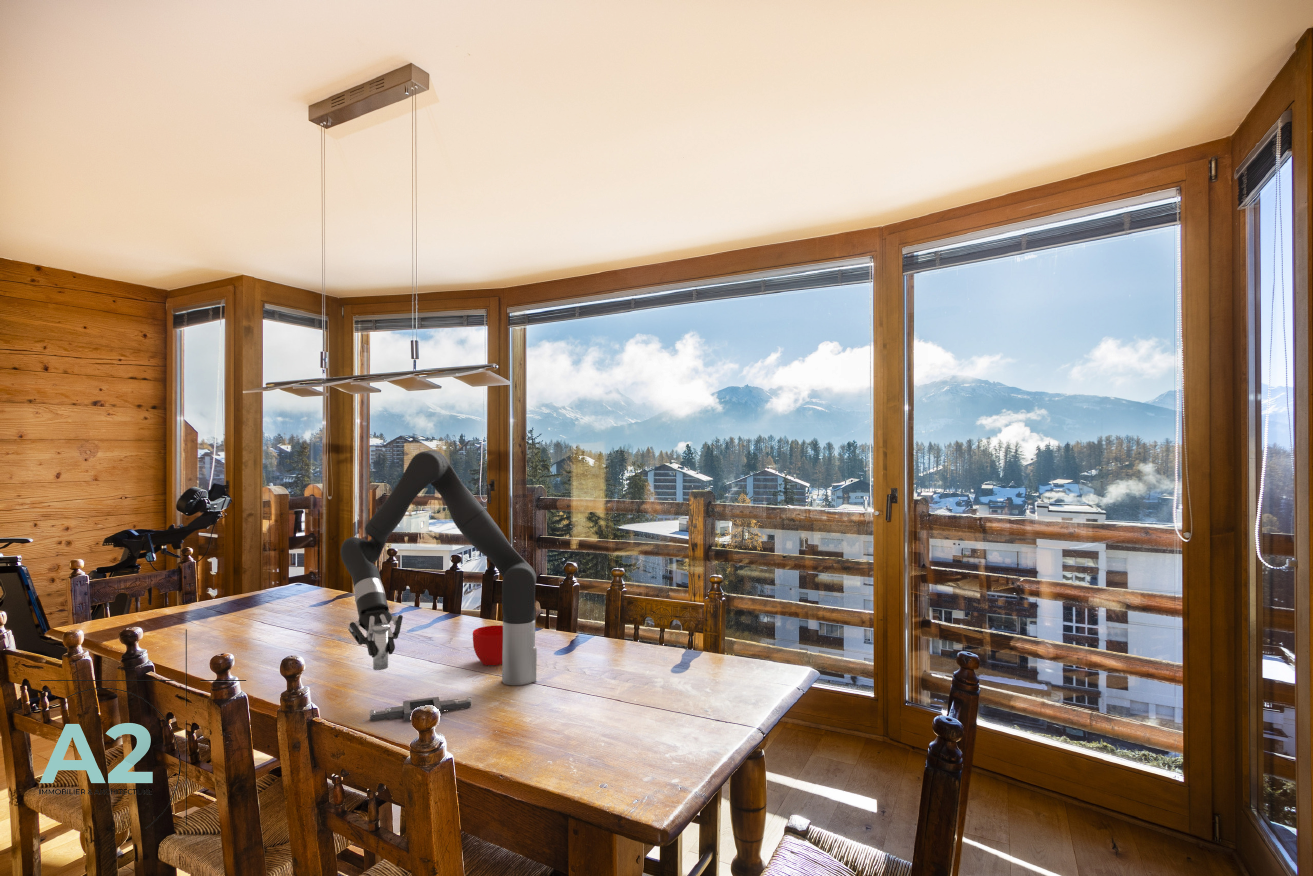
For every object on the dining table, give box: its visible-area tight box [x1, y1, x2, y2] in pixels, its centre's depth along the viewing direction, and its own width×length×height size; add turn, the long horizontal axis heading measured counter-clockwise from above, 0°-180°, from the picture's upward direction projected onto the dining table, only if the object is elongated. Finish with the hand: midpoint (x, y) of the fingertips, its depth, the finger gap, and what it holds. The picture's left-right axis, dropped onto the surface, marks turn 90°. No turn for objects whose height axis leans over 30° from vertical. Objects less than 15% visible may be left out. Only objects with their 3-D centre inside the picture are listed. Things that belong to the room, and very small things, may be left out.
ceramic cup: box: [472, 624, 503, 666], centre depth 202 cm, size 13×17×10 cm
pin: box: [371, 623, 391, 671], centre depth 168 cm, size 5×5×11 cm
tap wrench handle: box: [369, 696, 472, 723], centre depth 162 cm, size 24×9×2 cm, turn 113°
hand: (382, 653), depth 166 cm, fingers closed on pin, 3 cm apart
